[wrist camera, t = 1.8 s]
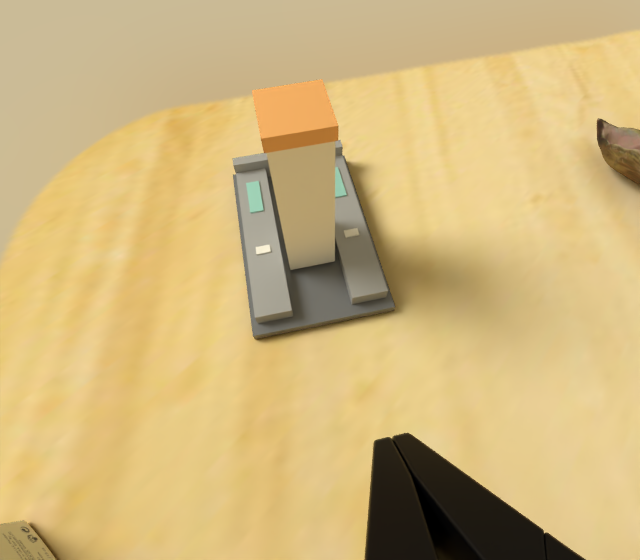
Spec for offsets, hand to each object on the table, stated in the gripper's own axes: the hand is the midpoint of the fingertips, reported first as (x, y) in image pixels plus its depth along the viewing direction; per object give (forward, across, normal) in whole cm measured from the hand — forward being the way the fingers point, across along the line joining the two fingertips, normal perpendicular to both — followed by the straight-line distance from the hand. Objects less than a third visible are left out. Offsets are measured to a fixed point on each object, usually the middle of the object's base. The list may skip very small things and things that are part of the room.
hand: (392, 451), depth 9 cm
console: (+21, 0, -2) cm, 21 cm away
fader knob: (+20, 0, -1) cm, 20 cm away
